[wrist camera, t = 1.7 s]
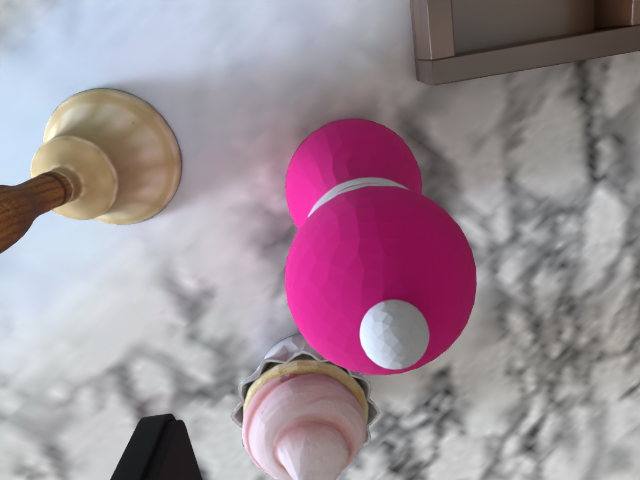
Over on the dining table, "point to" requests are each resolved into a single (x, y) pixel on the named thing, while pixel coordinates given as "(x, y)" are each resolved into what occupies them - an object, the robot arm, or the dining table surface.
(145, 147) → the hand bell
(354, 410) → the cupcake
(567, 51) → the holder
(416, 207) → the pepper mill
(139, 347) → the dining table surface
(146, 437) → the robot arm
